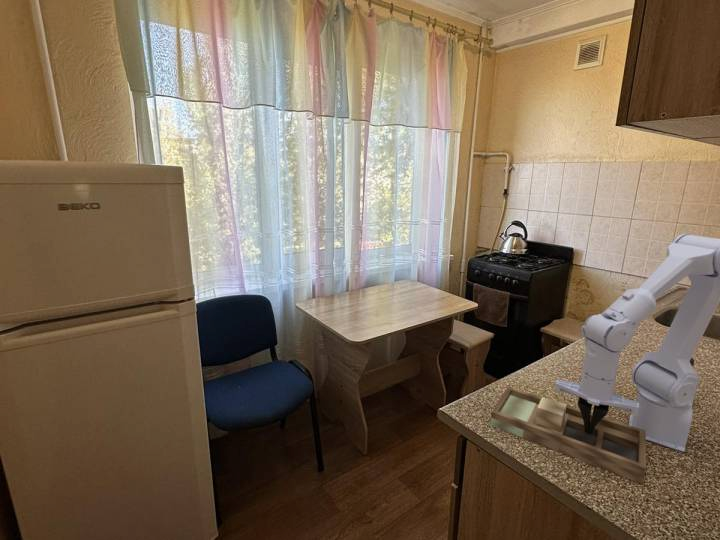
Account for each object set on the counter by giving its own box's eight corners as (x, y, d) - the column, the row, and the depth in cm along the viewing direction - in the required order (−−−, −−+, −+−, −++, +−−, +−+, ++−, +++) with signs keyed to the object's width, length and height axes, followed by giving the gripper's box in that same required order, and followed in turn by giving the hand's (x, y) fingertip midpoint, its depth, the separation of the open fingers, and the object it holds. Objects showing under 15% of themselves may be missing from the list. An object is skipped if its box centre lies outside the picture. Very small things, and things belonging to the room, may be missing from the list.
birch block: (564, 420, 83) (566, 404, 82) (560, 431, 79) (562, 415, 78) (540, 411, 86) (542, 396, 85) (535, 423, 82) (537, 407, 81)
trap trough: (642, 444, 78) (645, 430, 78) (642, 484, 68) (645, 468, 67) (506, 398, 95) (508, 386, 94) (490, 425, 85) (491, 411, 84)
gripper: (555, 370, 76) (547, 427, 79) (643, 394, 68) (630, 456, 71) (561, 357, 81) (553, 411, 85) (643, 378, 73) (630, 436, 76)
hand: (588, 430), depth 78 cm, fingers closed
